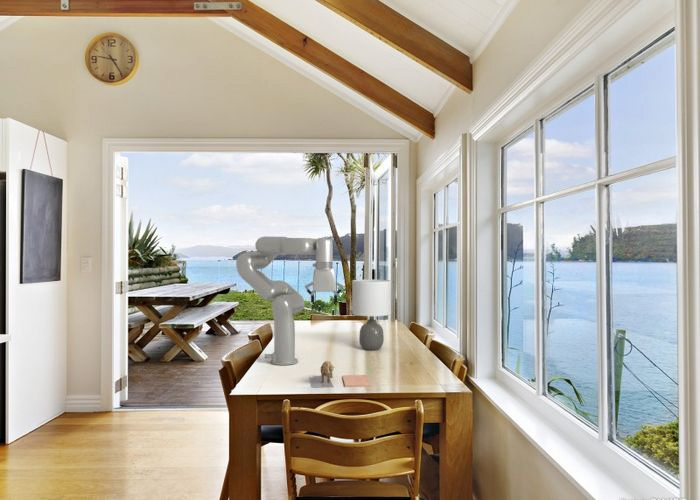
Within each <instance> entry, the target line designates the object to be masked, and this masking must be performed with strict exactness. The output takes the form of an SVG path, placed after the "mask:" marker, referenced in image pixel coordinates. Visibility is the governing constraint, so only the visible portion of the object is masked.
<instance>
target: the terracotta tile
mask: <svg viewBox="0 0 700 500" xmlns="http://www.w3.org/2000/svg"><path fill="white" fill-rule="evenodd" d="M342 381H343V384H344V388H366V387H367V388H371V387H372V384H371V382H370V381H371V380H370V379H369V377H368V375H367V374H353V375H351V374H350V375H349V374H347V375H345V374H344V375H342Z"/></svg>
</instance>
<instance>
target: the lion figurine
mask: <svg viewBox="0 0 700 500" xmlns="http://www.w3.org/2000/svg"><path fill="white" fill-rule="evenodd" d="M334 369H335V366H333V363H331V361H330V360H326V361H324V362H323V363H322V365H321V366H320V374H321V375H320V377H321V378H322V381H321V383H324V379H325V377H328V379H327V382H328V383H331V382H332V381H331V378H333V371H334Z"/></svg>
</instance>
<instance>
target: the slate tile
mask: <svg viewBox="0 0 700 500" xmlns="http://www.w3.org/2000/svg"><path fill="white" fill-rule="evenodd" d="M309 379H310V386H311V388H312V389H319V388H320V389H325V388H327V389H328V388H335V386H334V384H333V382H332V381H331V383H328V382H327V379H328V376H325V379H324V383H321V381H322V378H321V376H317V377H316V376H312V377H311V376H310V377H309Z"/></svg>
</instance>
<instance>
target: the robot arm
mask: <svg viewBox="0 0 700 500" xmlns="http://www.w3.org/2000/svg"><path fill="white" fill-rule="evenodd" d="M333 245H334V244H333V240H332V238H309V237H287V236H267V235H265V236H260V237H259V238H258V239H257V240H256V241H255V244H254V246H255V250H256V251H248V252H247V251H246V252H243V253H241V254H239V255H238V256H237V259H236V262H235V264H236V265H235V267H236V270H237V273H238V275H239V277H240V278H241V279H242V280H243V281H244V282H245V283H246V284H248V285H249V286H250V287H251V288H252V289H253V291H256V293H257V294H259V296H261V297H262V298H263V299H264V300H265V301H268V302H272V305H271V307H272V308H271V309H272V314H273V324H274V325H273V327H274V331H273V332H274V333H273V334H274V335H273V337H274V338H273V341H274V342H273V345H274V346H273V348H274V349H273V350H274V351H273V353H265V354H264V359H271V360H270V363H271V364H272V365H276V366H290V365H294V364H298V363H299V359H298V358H296V356H295V355H296V354H295V353H296V351H295V347H296V346H295V345H296V344H295V343H296V337H295V336H296V328H295V327H296V325H295V320H294V316H293V314H299V313H301V312H302V311H303V310H304V309H305V306H306V301H305V299H304V297H303V296H302V294H300V292H298V291H297V290H296V289H295V288H294V287H292V285H290V284H289V282H286V281H284V280H279V279H278V280H273V279H270V278H269V277H268V276H266V275H265V273H263V272H262V271H260V270H263V269H265V268H267V267H268V266H269V265H270V264H271V263H272V262H274V260H275V259H276V258H277V257H278V256H279V255H282V256H283V255H284V256H286V255H296V256H297V255H299V256H305V255H306V256H313V255H315V263H312V267H315V268H314V269H313V273H312V274H313V275H312V282H310V283H307V284H305V285H304V288H305V290H306V292H307V293H308V295H310V303H311V304H312V305H313V306H314V305H315V293H317V292H321V293H323V292H324V293H325V292H329V293H331V292H332V293H333V304H334V305H337V303H338V296H339V294H340V293H341V292H342V290H343V289H344V285H343V284H341V283H339V282H338V281H336V272H335V269H334V267H333V266H334V265H333V264H334V263H333V255H334V254H333V250H334V248H333V247H334V246H333ZM311 286H312V290H310V287H311ZM336 287H339V289H338V290H336V289H337V288H336Z"/></svg>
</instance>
